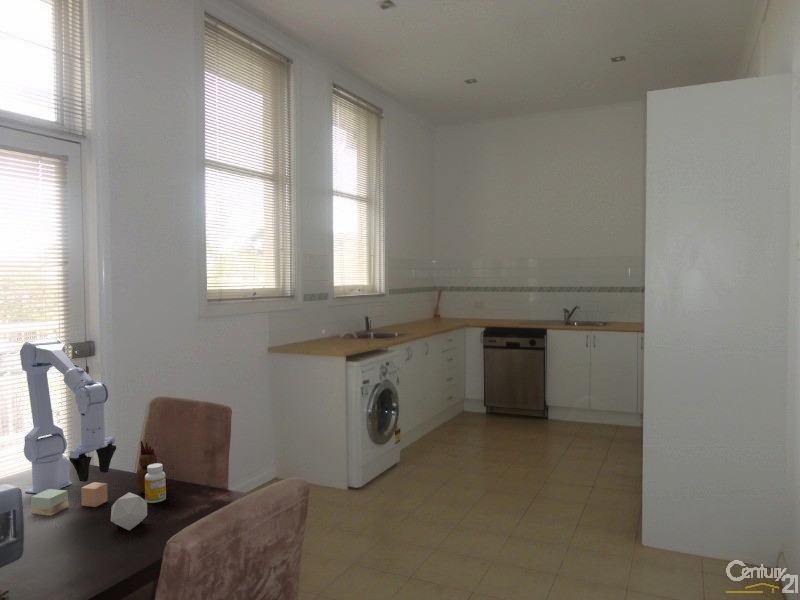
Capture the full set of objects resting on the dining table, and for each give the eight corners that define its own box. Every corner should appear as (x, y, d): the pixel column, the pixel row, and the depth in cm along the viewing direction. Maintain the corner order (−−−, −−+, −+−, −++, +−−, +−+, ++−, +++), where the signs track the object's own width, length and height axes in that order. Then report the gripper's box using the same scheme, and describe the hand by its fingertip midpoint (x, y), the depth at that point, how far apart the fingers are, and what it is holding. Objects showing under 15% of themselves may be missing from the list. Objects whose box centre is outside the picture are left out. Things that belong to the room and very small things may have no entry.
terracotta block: (93, 499, 167) (93, 482, 167) (107, 501, 166) (107, 483, 166) (81, 505, 163) (81, 487, 162) (95, 507, 161) (95, 489, 161)
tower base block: (50, 506, 163) (49, 497, 163) (68, 508, 162) (68, 499, 161) (31, 515, 157) (31, 505, 157) (50, 517, 156) (50, 507, 156)
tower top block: (48, 497, 163) (48, 488, 163) (67, 499, 161) (67, 490, 161) (30, 506, 157) (30, 496, 157) (50, 507, 156) (49, 498, 155)
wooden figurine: (132, 493, 171) (130, 442, 171) (147, 487, 177) (146, 437, 176) (150, 496, 169) (149, 444, 168) (165, 489, 174) (164, 439, 174)
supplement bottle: (146, 497, 168) (145, 463, 168) (166, 495, 170) (165, 461, 169) (144, 504, 163) (143, 469, 163) (165, 501, 165) (164, 467, 164)
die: (155, 527, 149) (154, 490, 154) (132, 522, 142) (131, 483, 147) (126, 537, 150) (126, 500, 155) (102, 533, 143) (103, 494, 148)
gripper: (85, 435, 155) (86, 486, 156) (123, 422, 169) (124, 469, 170) (62, 433, 157) (64, 484, 158) (102, 421, 171) (103, 467, 172)
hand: (94, 476), depth 164 cm, fingers open, 7 cm apart
